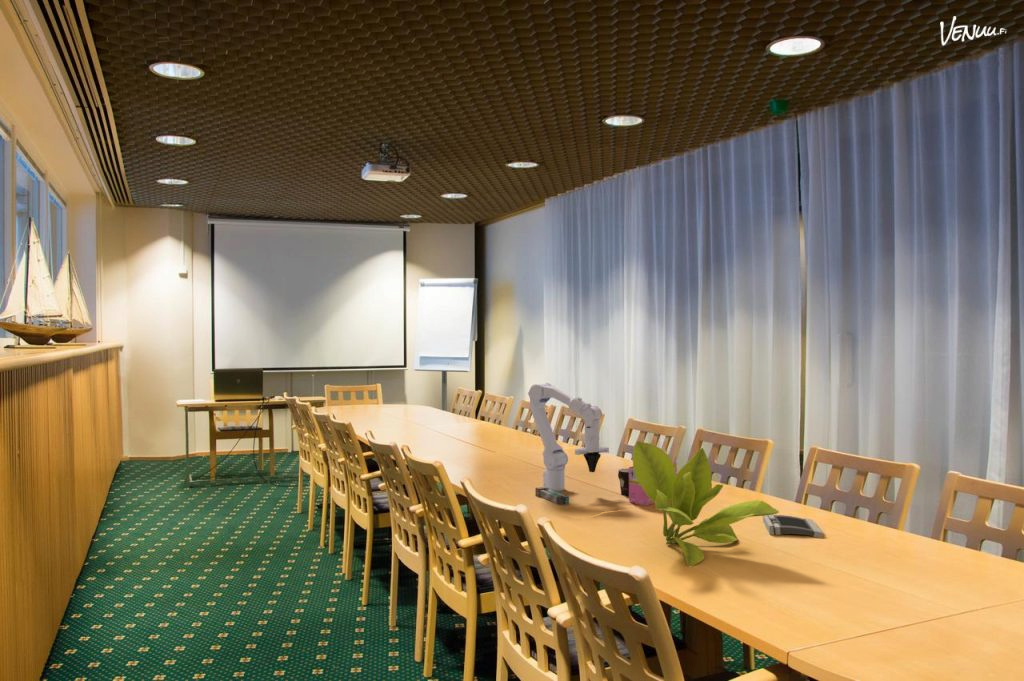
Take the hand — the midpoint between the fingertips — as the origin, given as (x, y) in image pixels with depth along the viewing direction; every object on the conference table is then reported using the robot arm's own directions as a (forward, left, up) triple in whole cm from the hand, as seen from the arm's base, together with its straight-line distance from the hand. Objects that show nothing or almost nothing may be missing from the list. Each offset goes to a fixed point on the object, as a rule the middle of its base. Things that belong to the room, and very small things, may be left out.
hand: (592, 471), depth 298 cm
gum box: (+17, +17, -10) cm, 26 cm away
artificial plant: (+77, -13, -10) cm, 78 cm away
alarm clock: (+73, +31, -10) cm, 80 cm away
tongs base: (+2, -19, -9) cm, 21 cm away
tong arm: (+5, -18, -9) cm, 20 cm away
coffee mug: (+5, +14, -10) cm, 18 cm away
